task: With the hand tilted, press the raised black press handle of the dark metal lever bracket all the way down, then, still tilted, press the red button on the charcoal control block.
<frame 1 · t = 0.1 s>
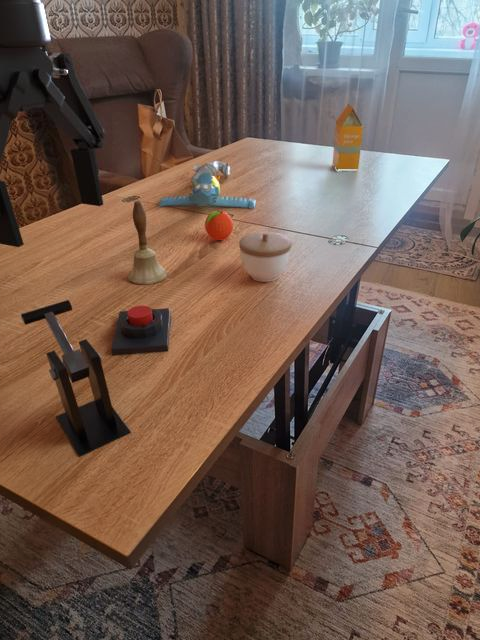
hand: (55, 222, 56), 26 cm above the table, tool pointing down, fingers open, 13 cm apart
lever bracket: (94, 430, 65), on the table
clementine: (218, 240, 119), on the table
hand bell: (147, 276, 103), on the table
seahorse: (211, 181, 160), on the table
blue toy plane: (207, 206, 140), on the table
trinket box: (265, 276, 103), on the table
orange juice: (344, 168, 172), on the table
press lever: (62, 340, 60), point 13 cm above the table, hinge at 25.0°
control block: (144, 337, 84), on the table
start button: (140, 315, 81), point 4 cm above the table, slide at 0.1 cm
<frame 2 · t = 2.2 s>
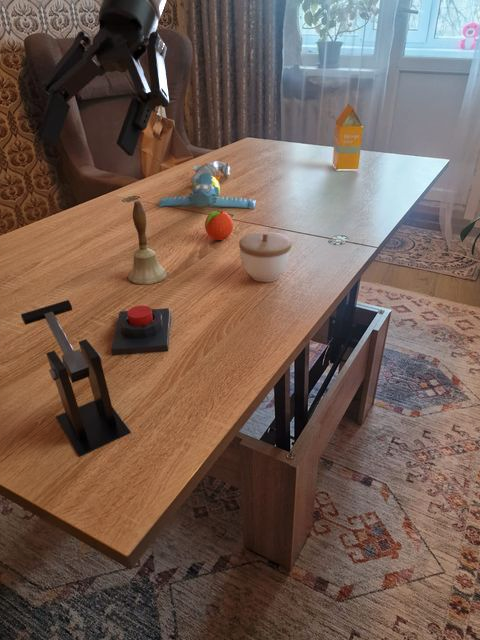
hand: (84, 145, 65), 32 cm above the table, tool tilted 45°, fingers open, 13 cm apart
nothing on the table moved.
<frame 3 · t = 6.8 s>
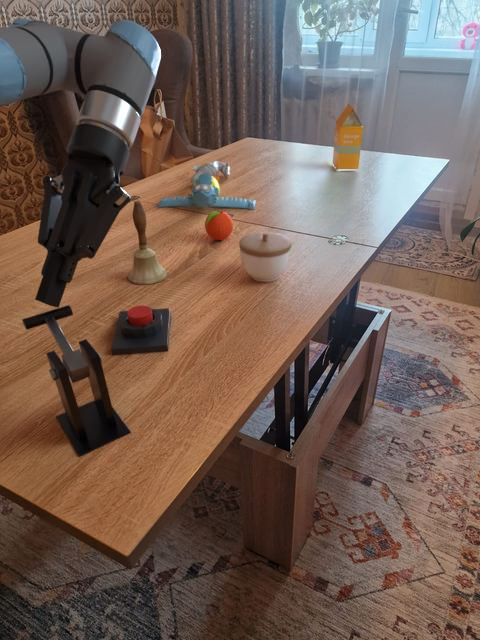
hand: (47, 303, 62), 16 cm above the table, tool tilted 45°, fingers closed
press lever: (62, 342, 61), point 12 cm above the table, hinge at 18.5°
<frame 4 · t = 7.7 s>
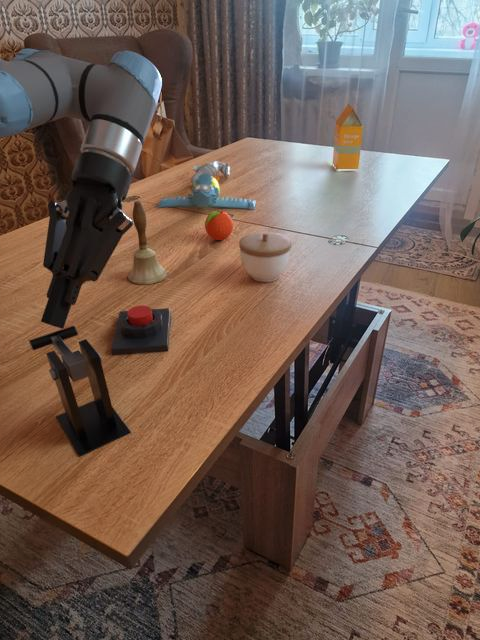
hand: (52, 325, 64), 12 cm above the table, tool tilted 45°, fingers closed
press lever: (65, 352, 62), point 11 cm above the table, hinge at -4.1°, touching gripper
everything else where it was.
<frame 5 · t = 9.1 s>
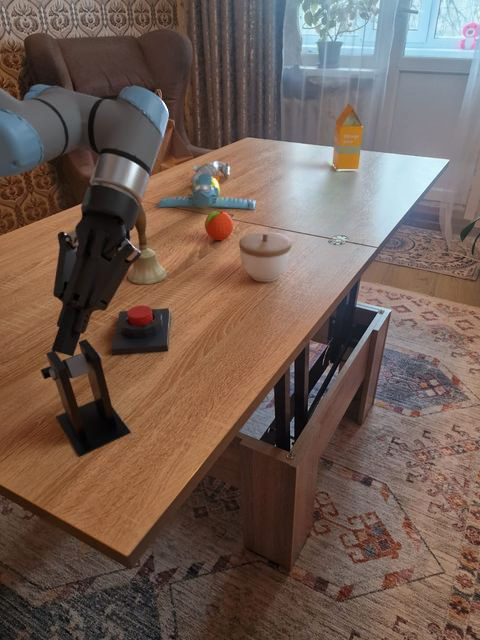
hand: (62, 353, 66), 8 cm above the table, tool tilted 45°, fingers closed
press lever: (70, 366, 63), point 9 cm above the table, hinge at -31.7°, touching gripper
everything else where it was.
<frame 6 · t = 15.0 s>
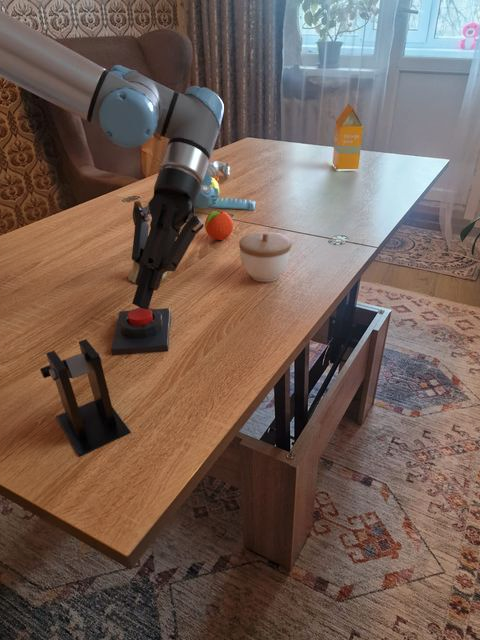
hand: (140, 306, 80), 6 cm above the table, tool tilted 45°, fingers closed
press lever: (70, 365, 63), point 9 cm above the table, hinge at -30.8°
start button: (140, 317, 81), point 4 cm above the table, slide at -0.3 cm, touching gripper
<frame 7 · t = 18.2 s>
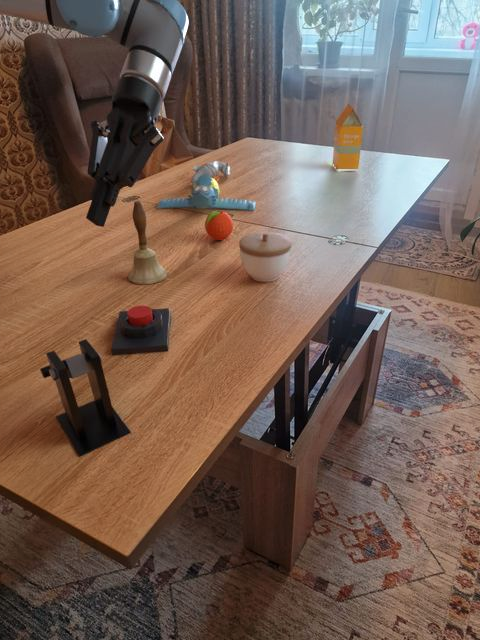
hand: (94, 222, 76), 19 cm above the table, tool tilted 45°, fingers closed
start button: (140, 315, 81), point 4 cm above the table, slide at 0.1 cm
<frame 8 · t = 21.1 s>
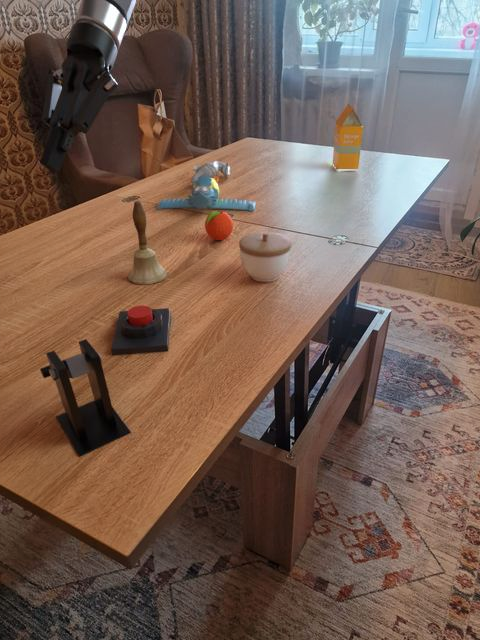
hand: (49, 167, 77), 26 cm above the table, tool tilted 45°, fingers closed
at the end: press lever at -31° (first picture: +25°); start button pushed in 1.3 cm at the most during the clip, back to where it started at the end; start button slide at 0.1 cm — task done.
